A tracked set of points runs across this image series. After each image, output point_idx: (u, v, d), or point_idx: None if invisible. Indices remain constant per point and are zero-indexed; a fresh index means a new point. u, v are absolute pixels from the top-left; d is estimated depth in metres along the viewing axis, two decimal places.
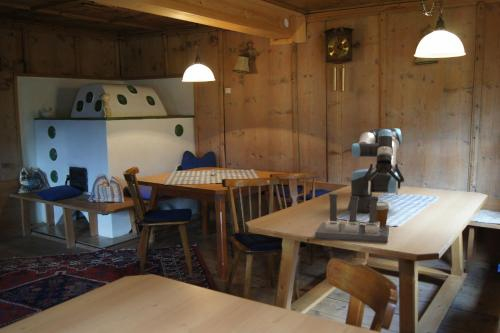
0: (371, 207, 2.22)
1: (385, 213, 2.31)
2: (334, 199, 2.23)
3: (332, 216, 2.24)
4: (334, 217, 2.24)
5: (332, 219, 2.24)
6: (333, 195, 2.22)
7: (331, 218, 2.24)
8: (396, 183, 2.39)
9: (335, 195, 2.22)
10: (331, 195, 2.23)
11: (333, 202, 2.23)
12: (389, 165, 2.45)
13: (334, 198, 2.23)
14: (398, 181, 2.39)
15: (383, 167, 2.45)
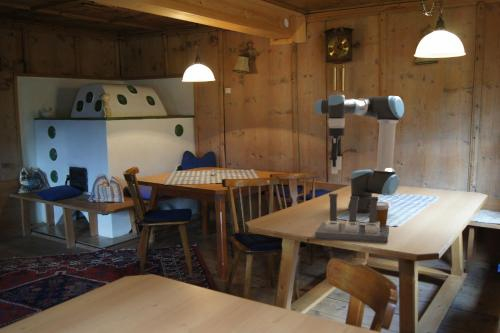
0: (371, 207, 2.22)
1: (385, 213, 2.31)
2: (334, 199, 2.23)
3: (332, 216, 2.24)
4: (334, 217, 2.24)
5: (332, 219, 2.24)
6: (333, 195, 2.22)
7: (331, 218, 2.24)
8: None
9: (335, 195, 2.22)
10: (331, 195, 2.23)
11: (333, 202, 2.23)
12: None
13: (334, 198, 2.23)
14: None
15: None
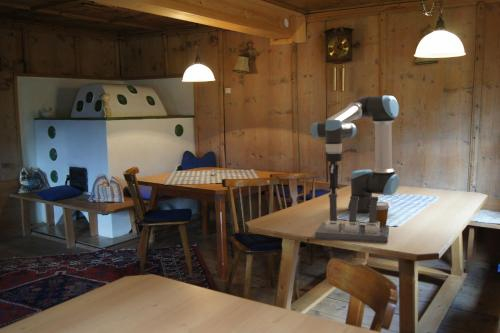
0: (371, 207, 2.22)
1: (385, 213, 2.31)
2: (334, 199, 2.22)
3: (332, 216, 2.24)
4: (334, 217, 2.24)
5: (332, 219, 2.24)
6: (333, 196, 2.22)
7: (331, 218, 2.24)
8: (331, 191, 2.26)
9: (335, 196, 2.21)
10: (331, 196, 2.22)
11: (333, 203, 2.23)
12: None
13: (334, 198, 2.22)
14: None
15: None
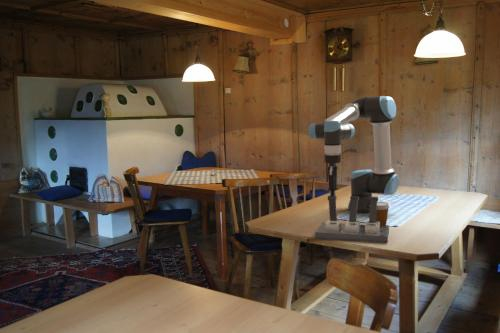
0: (371, 207, 2.22)
1: (385, 213, 2.31)
2: (333, 202, 2.20)
3: (332, 217, 2.24)
4: (334, 218, 2.24)
5: (332, 220, 2.24)
6: (332, 199, 2.19)
7: (331, 219, 2.24)
8: None
9: (334, 199, 2.19)
10: (330, 199, 2.19)
11: (333, 205, 2.21)
12: (329, 166, 2.18)
13: (333, 201, 2.20)
14: None
15: None
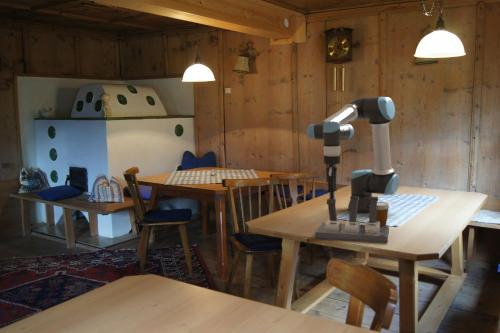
0: (371, 207, 2.22)
1: (385, 213, 2.31)
2: (332, 206, 2.18)
3: (332, 218, 2.24)
4: (334, 218, 2.24)
5: (332, 220, 2.25)
6: (331, 203, 2.17)
7: (331, 219, 2.24)
8: (329, 194, 2.21)
9: (333, 203, 2.17)
10: (329, 203, 2.17)
11: (332, 208, 2.19)
12: None
13: (332, 205, 2.18)
14: None
15: None
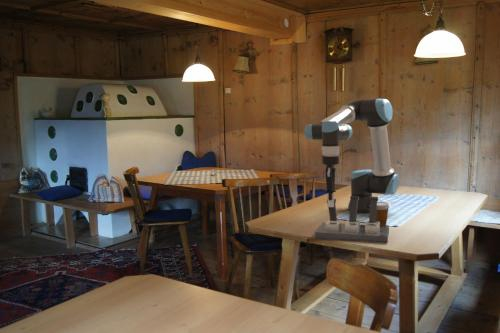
0: (371, 207, 2.22)
1: (385, 213, 2.31)
2: None
3: (332, 218, 2.24)
4: (334, 218, 2.24)
5: (332, 220, 2.25)
6: None
7: (331, 219, 2.24)
8: None
9: None
10: None
11: (332, 208, 2.19)
12: (327, 168, 2.12)
13: None
14: None
15: None
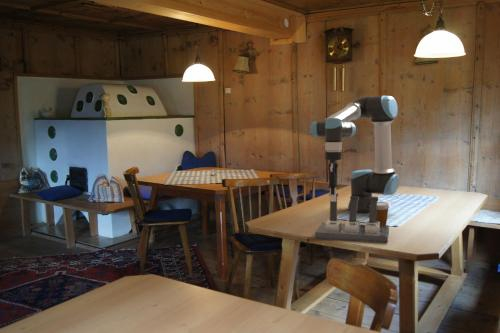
0: (371, 207, 2.22)
1: (385, 213, 2.31)
2: None
3: (332, 216, 2.24)
4: (334, 217, 2.24)
5: (332, 219, 2.24)
6: None
7: (331, 218, 2.24)
8: (330, 190, 2.23)
9: None
10: None
11: (334, 202, 2.24)
12: (329, 163, 2.19)
13: None
14: None
15: None
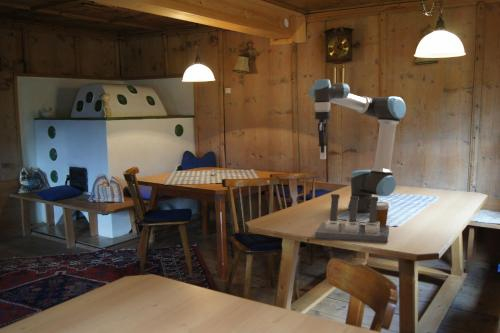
0: (371, 207, 2.22)
1: (385, 213, 2.31)
2: (336, 199, 2.28)
3: (332, 215, 2.25)
4: (334, 216, 2.25)
5: (332, 218, 2.24)
6: (335, 195, 2.28)
7: (331, 217, 2.25)
8: (320, 148, 2.35)
9: (337, 195, 2.28)
10: (333, 195, 2.29)
11: (335, 202, 2.27)
12: (319, 122, 2.31)
13: (336, 198, 2.28)
14: None
15: None
